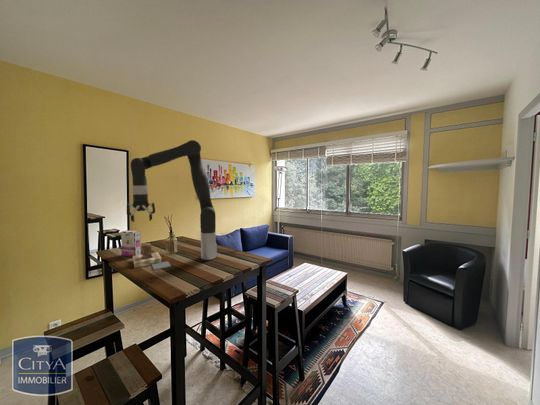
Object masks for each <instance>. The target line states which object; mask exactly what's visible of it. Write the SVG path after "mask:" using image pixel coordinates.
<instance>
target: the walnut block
mask: <svg viewBox="0 0 540 405" xmlns="http://www.w3.org/2000/svg"><path fill="white" fill-rule="evenodd" d="M151 253H152V244H151V242H147V243H142V244H141V255H142V259H148V258H152V255H151Z"/></svg>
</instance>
